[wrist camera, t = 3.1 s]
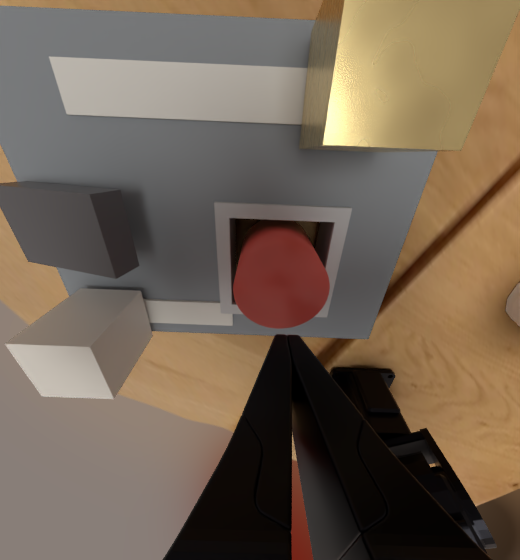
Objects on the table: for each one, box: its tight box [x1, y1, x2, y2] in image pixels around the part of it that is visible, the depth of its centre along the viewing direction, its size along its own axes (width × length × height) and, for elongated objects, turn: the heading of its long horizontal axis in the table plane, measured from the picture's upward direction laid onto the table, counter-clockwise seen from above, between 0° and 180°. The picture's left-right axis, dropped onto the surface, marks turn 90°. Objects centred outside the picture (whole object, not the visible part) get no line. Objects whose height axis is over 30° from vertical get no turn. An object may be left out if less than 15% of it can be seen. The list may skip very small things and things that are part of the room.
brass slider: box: [299, 0, 520, 152], centre depth 8 cm, size 4×4×5 cm
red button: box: [233, 219, 330, 329], centre depth 14 cm, size 5×5×6 cm
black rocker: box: [0, 181, 139, 279], centre depth 12 cm, size 4×6×2 cm, turn 88°
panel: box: [0, 6, 437, 339], centre depth 14 cm, size 17×22×3 cm
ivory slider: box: [5, 288, 153, 399], centre depth 14 cm, size 4×4×5 cm
